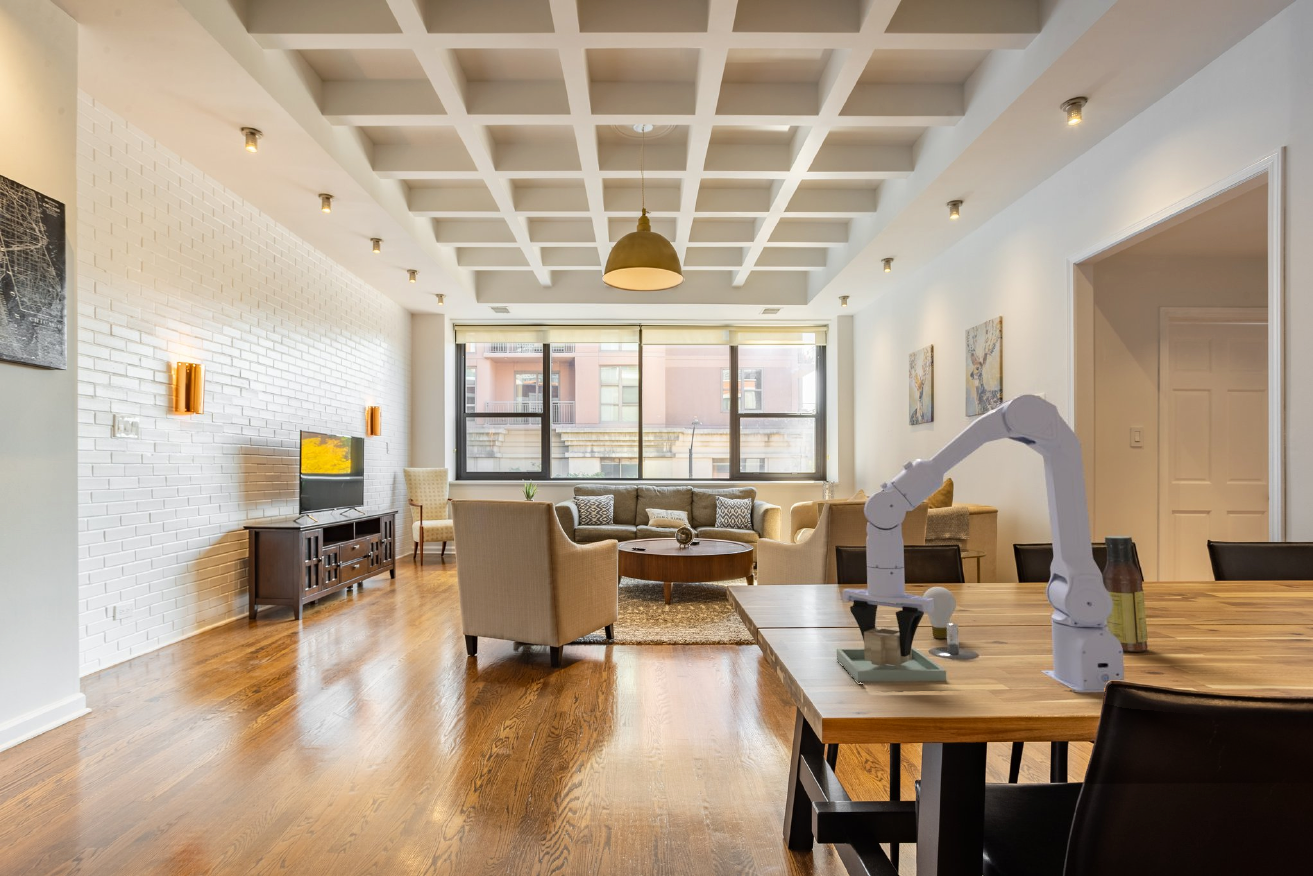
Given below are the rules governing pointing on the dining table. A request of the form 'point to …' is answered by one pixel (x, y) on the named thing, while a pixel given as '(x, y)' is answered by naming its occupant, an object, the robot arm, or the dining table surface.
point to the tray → (890, 668)
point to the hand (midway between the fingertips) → (887, 652)
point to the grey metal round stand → (953, 646)
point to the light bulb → (940, 610)
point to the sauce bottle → (1125, 595)
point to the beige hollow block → (884, 646)
